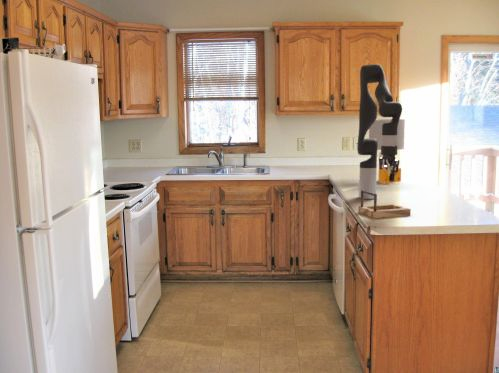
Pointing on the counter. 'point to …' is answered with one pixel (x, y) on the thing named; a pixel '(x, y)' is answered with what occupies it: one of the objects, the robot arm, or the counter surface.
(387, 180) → the pipe clamp
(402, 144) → the lamp
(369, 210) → the wooden tray
